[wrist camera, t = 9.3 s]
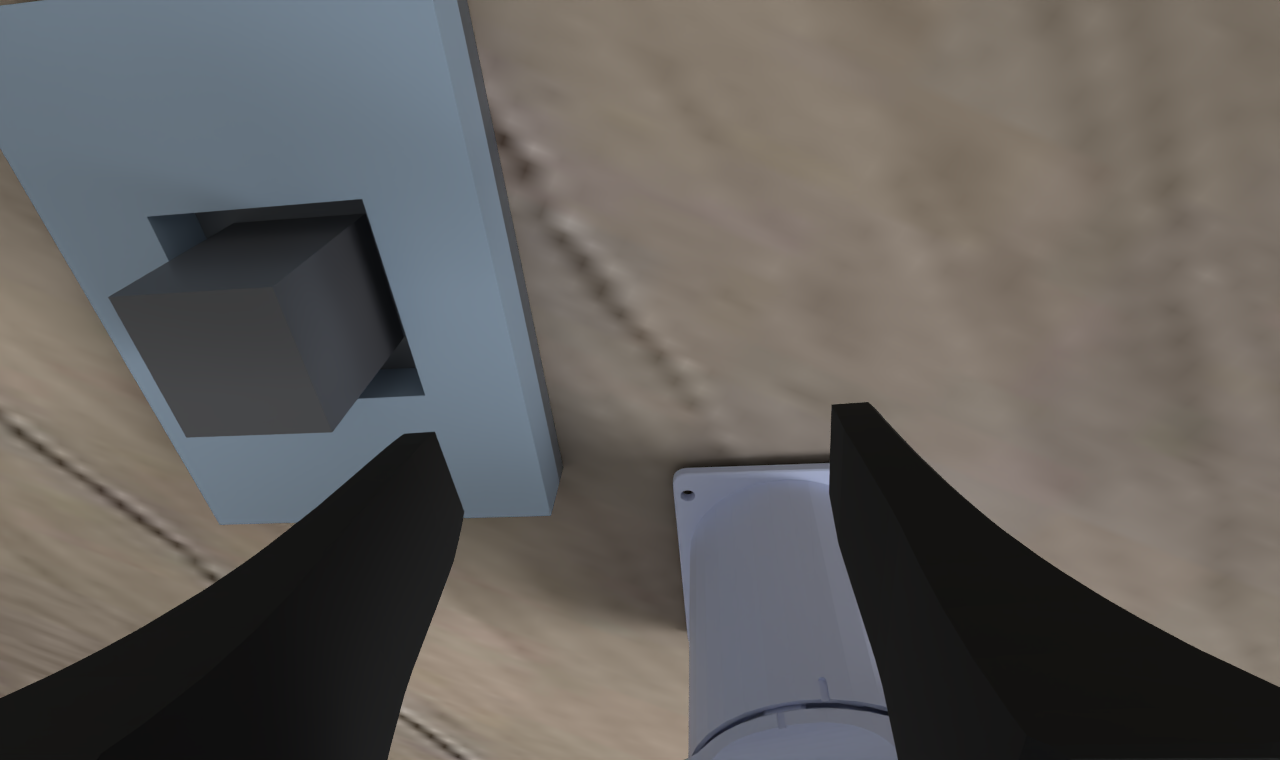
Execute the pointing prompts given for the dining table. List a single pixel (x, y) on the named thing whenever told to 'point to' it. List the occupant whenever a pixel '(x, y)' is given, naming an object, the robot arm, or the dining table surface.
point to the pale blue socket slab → (295, 212)
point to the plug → (265, 326)
